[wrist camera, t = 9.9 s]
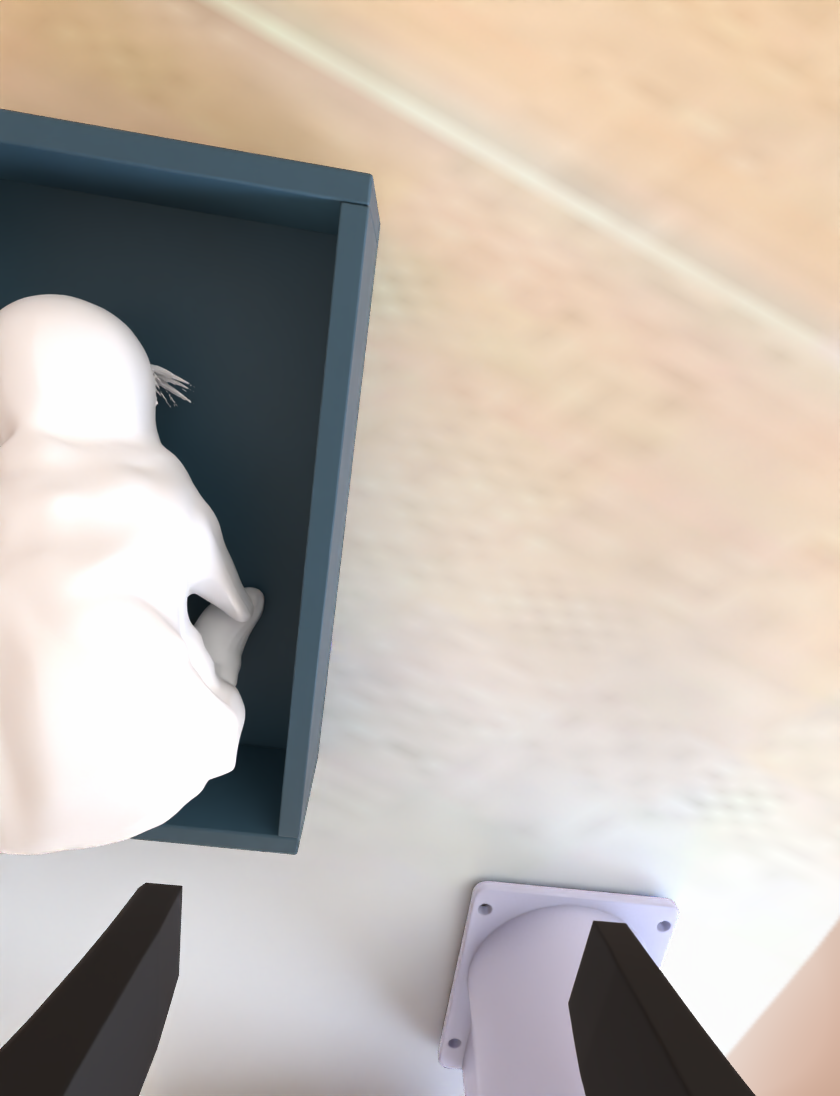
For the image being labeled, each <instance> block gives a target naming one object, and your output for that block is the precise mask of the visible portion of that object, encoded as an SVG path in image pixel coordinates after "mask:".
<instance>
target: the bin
mask: <svg viewBox="0 0 840 1096" xmlns="http://www.w3.org/2000/svg"><path fill="white" fill-rule="evenodd" d="M379 231H380V220H379V213H378V207H377V201H376V194H375V188H374V181H373V176H372V175H371V174H368V173H363V172H357V171H351V170H346V169H340V168H334V167H329V166H323V165H317V164H312V163H306V162H300V161H294V160H289V159H283V158H277V157H272V156H266V155H260V154H255V153H249V152H243V151H238V150H232V149H226V148H221V147H215V146H209V145H204V144H198V143H192V142H187V141H181V140H175V139H170V138H164V137H158V136H153V135H147V134H141V133H136V132H130V131H124V130H119V129H113V128H107V127H102V126H96V125H90V124H85V123H79V122H73V121H67V120H62V119H56V118H50V117H45V116H39V115H33V114H28V113H22V112H16V111H11V110H5V109H0V310H1V309H2V308H4V307H5V306H7V305H9V304H11V303H12V302H15V301H17V300H19V299H22V298H26V297H30V296H35V295H45V294H58V295H67V296H72V297H75V298H79V299H82V300H84V301H87V302H90V303H92V304H94V305H97V306H99V307H101V308H104V309H105V310H107V311H108V312H110V313H112V314H113V315H114V316H116V317H117V318H119V319H120V320H121V321H122V322H123V323H125V324H126V325H127V326H128V327H129V328H130V330H131V331H132V332H133V333H134V335H135V336H136V337H137V339H138V340H139V342H140V343H141V345H142V346H143V348H144V350H145V352H146V354H147V356H148V359H149V362H150V364H153V365H157V366H160V367H162V368H164V369H166V370H168V371H170V372H171V373H173V374H174V375H176V376H178V377H180V378H182V379H183V380H185V381H187V382H188V383H189V384H186V383H183V382H181V381H178V380H176V379H174V380H176V381H178V382H180V383H182V384H183V385H185V386H186V387H188V388H189V389H186V388H184V387H182V386H179V385H176V384H175V385H174V384H172V383H170V382H166V383H168V384H169V385H170V386H172V387H173V388H175V389H176V390H177V391H179V392H180V393H181V394H183V395H184V396H185V397H186V398H187V399H189V400H190V401H191V403H190V402H188V401H187V400H183V399H182V398H181V397H178V396H176V395H175V394H173V393H171V392H170V391H168V390H166V389H165V388H163V387H161V386H159V385H158V386H159V388H158V387H157V386H156V389H157V390H158V391H159V393H160V394H161V393H162V394H163V395H164V397H165V398H166V400H167V401H166V400H165V398H163V395H161V396H160V395H159V394H158V393H157V392H156V397H157V402H158V404H157V405H156V411H155V418H156V427H157V432H158V435H159V438H160V442H161V444H162V445H163V446H164V447H165V448H166V449H167V450H169V451H170V452H171V453H173V454H174V455H175V456H176V457H177V458H178V459H179V460H180V462H181V463H182V464H183V466H184V467H185V469H186V471H187V472H188V474H189V476H190V478H191V480H192V482H193V484H194V485H195V487H196V489H197V490H198V492H199V494H200V495H201V496H202V498H203V499H204V500H205V502H206V503H207V504H208V505H209V506H210V508H211V509H212V511H213V512H214V514H215V516H216V518H217V520H218V522H219V525H220V528H221V532H222V536H223V540H224V543H225V545H226V548H227V550H228V552H229V554H230V556H231V558H232V560H233V563H234V565H235V568H236V570H237V572H238V575H239V578H240V580H241V583H242V585H243V587H244V588H245V587H253V588H256V589H259V590H260V591H261V592H262V593H263V595H264V609H263V612H262V615H261V616H260V618H259V620H258V622H257V623H256V625H255V626H254V628H253V629H252V631H251V633H250V635H249V637H248V639H247V642H246V644H245V647H244V650H243V653H242V656H241V668H240V671H239V673H238V680H237V684H236V686H235V687H236V688H237V690H238V691H239V693H240V695H241V698H242V700H243V703H244V707H245V721H244V725H243V728H242V732H241V735H240V739H239V744H238V749H237V755H236V764H235V767H234V769H233V770H232V771H230V772H229V773H226V774H224V775H221V776H219V777H216V778H212V779H210V780H208V782H207V783H206V785H205V787H204V788H203V790H202V791H201V792H200V793H199V794H198V795H197V796H196V797H194V798H193V799H192V800H190V801H189V802H188V803H187V804H185V805H184V806H183V807H182V808H181V809H180V810H179V811H178V812H177V813H176V814H175V815H174V816H173V817H171V818H170V819H169V820H168V821H166V822H165V823H163V824H161V825H159V826H157V827H154V828H152V829H150V830H147V831H145V832H143V833H141V834H138V835H136V836H134V837H132V838H129V839H139V840H149V841H159V842H169V843H180V844H190V845H200V846H211V847H221V848H231V849H241V850H252V851H262V852H272V853H282V854H293V855H295V854H297V852H298V848H299V843H300V838H301V834H302V829H303V824H304V820H305V815H306V810H307V805H308V801H309V796H310V791H311V787H312V782H313V777H314V773H315V768H316V763H317V759H318V751H319V743H320V734H321V726H322V717H323V709H324V700H325V692H326V683H327V674H328V666H329V657H330V649H331V640H332V632H333V623H334V615H335V606H336V598H337V589H338V581H339V572H340V564H341V555H342V547H343V538H344V530H345V521H346V512H347V504H348V495H349V487H350V478H351V470H352V461H353V453H354V444H355V436H356V427H357V419H358V410H359V402H360V393H361V385H362V376H363V367H364V359H365V350H366V342H367V333H368V325H369V316H370V308H371V299H372V291H373V282H374V274H375V265H376V257H377V248H378V240H379ZM172 379H173V378H172ZM163 381H164V380H163ZM190 385H191V386H190ZM183 389H184V390H185V391H184V390H183ZM166 391H167V392H166ZM193 391H194V392H193ZM169 394H170V396H169ZM171 397H172V399H173V400H172V399H170V398H171ZM173 401H175V403H174V402H173ZM166 402H167V403H166ZM168 404H169V405H168ZM174 405H175V407H174ZM170 406H171V407H170ZM210 604H211V603H210V602H209V601H207V600H205V599H204V598H202V597H201V596H199V595H197V594H191V595H189V596H188V597H187V613H188V617H189V620H190V622H191V623H192V625H193V626H194V624H195V623H196V621H197V620H198V618H199V617H200V615H201V614H202V612H203V611H204V610H205V609H206V608H207V607H208V606H209V605H210Z"/></svg>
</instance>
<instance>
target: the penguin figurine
mask: <svg viewBox="0 0 840 1096" xmlns="http://www.w3.org/2000/svg"><path fill="white" fill-rule="evenodd" d="M172 378H173V379H172ZM174 379H176V380H178V381H181V382H183V383H186V384H189V383H188V382H187V381H185V380H183V379H182V378H180V377H178V376H176V375H174V374H173V373H171V372H170V371H168V370H166V369H164V368H162V367H160V366H157V365H153V364H150V362H149V359H148V356H147V354H146V352H145V350H144V348H143V346H142V345H141V343H140V342H139V340H138V339H137V337H136V336H135V335H134V333H133V332H132V331H131V330H130V328H129V327H128V326H127V325H126V324H125V323H123V322H122V321H121V320H120V319H119V318H117V317H116V316H114V315H113V314H112V313H110V312H108V311H107V310H105V309H104V308H101V307H99V306H97V305H94V304H92V303H90V302H87V301H84V300H82V299H79V298H75V297H72V296H67V295H58V294H45V295H35V296H30V297H26V298H22V299H19V300H17V301H15V302H12V303H11V304H9V305H7V306H5V307H4V308H2V309H1V310H0V853H5V854H14V855H24V854H26V855H37V854H47V853H53V852H58V851H63V850H76V849H83V848H90V847H96V846H102V845H107V844H112V843H116V842H120V841H123V840H126V839H129V838H132V837H134V836H136V835H138V834H141V833H143V832H145V831H147V830H150V829H152V828H154V827H157V826H159V825H161V824H163V823H165V822H166V821H168V820H169V819H170V818H171V817H173V816H174V815H175V814H176V813H177V812H178V811H179V810H180V809H181V808H182V807H183V806H184V805H185V804H187V803H188V802H189V801H190V800H192V799H193V798H194V797H196V796H197V795H198V794H199V793H200V792H201V791H202V790H203V788H204V787H205V785H206V783H207V782H208V780H210V779H212V778H216V777H219V776H221V775H224V774H226V773H229V772H230V771H232V770H233V769H234V767H235V764H236V755H237V749H238V744H239V739H240V735H241V732H242V728H243V725H244V721H245V707H244V703H243V700H242V698H241V695H240V693H239V691H238V690H237V688H236V687H235V686H236V684H237V680H238V673H239V671H240V668H241V656H242V653H243V650H244V647H245V644H246V642H247V639H248V637H249V635H250V633H251V631H252V629H253V628H254V626H255V625H256V623H257V622H258V620H259V618H260V616H261V615H262V612H263V609H264V595H263V593H262V592H261V591H260V590H259V589H256V588H253V587H245V588H244V587H243V585H242V583H241V580H240V578H239V575H238V572H237V570H236V568H235V565H234V563H233V560H232V558H231V556H230V554H229V552H228V550H227V548H226V545H225V543H224V540H223V536H222V532H221V528H220V525H219V522H218V520H217V518H216V516H215V514H214V512H213V511H212V509H211V508H210V506H209V505H208V504H207V503H206V502H205V500H204V499H203V498H202V496H201V495H200V494H199V492H198V490H197V489H196V487H195V485H194V484H193V482H192V480H191V478H190V476H189V474H188V472H187V471H186V469H185V467H184V466H183V464H182V463H181V462H180V460H179V459H178V458H177V457H176V456H175V455H174V454H173V453H171V452H170V451H169V450H167V449H166V448H165V447H164V446H163V445H162V444H161V442H160V438H159V435H158V432H157V427H156V418H155V411H156V405H157V404H158V402H157V397H156V392H157V393H158V394H159V395H160V396H161V395H163V394H162V393H161V394H160V393H159V391H158V390H157V389H156V386H157V387H158V388H159V386H161V387H163V388H165V389H166V390H168V391H170V392H171V393H173V394H175V395H176V396H178V397H181V398H182V399H183V400H187V401H188V402H190V403H191V401H190V400H189V399H187V398H186V397H185V396H184V395H183V394H181V393H180V392H179V391H177V390H176V389H175V388H173V387H172V386H170V385H169V384H168V383H166V382H170V383H172V384H174V385H175V384H176V385H179V386H182V387H184V388H186V389H189V388H188V387H186V386H185V385H183V384H182V383H180V382H178V381H176V380H174ZM163 380H164V381H163ZM158 385H159V386H158ZM190 386H191V385H190ZM183 390H184V389H183ZM184 391H185V390H184ZM166 392H167V391H166ZM193 392H194V391H193ZM169 396H170V394H169ZM163 398H165V397H164V395H163ZM170 399H172V397H171V398H170ZM165 400H166V398H165ZM172 400H173V399H172ZM166 401H167V400H166ZM173 402H174V403H175V401H173ZM166 403H167V402H166ZM168 405H169V404H168ZM170 407H171V406H170ZM174 407H175V405H174ZM191 594H197V595H199V596H201V597H202V598H204V599H205V600H207V601H209V602H210V603H211V604H210V605H209V606H208V607H207V608H206V609H205V610H204V611H203V612H202V614H201V615H200V617H199V618H198V620H197V621H196V623H195V624H194V626H193V625H192V623H191V622H190V620H189V617H188V613H187V597H188V596H189V595H191Z"/></svg>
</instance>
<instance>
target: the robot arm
mask: <svg viewBox="0 0 840 1096" xmlns="http://www.w3.org/2000/svg"><path fill="white" fill-rule="evenodd" d="M482 904H488V905H486V906H481V905H482ZM181 909H182V886H177V885H165V884H154V883H145V884H143V885H142V886H140V887H139V888H138V889H137V891H136V892H135V893H134V895H133V896H132V897H131V899H130V900H129V901H128V903H127V904H126V905H125V906H124V908H123V909H122V910H121V912H120V913H119V914H118V915H117V917H116V918H115V919H114V921H113V922H112V923H111V924H110V926H109V927H108V928H107V929H106V930H105V932H104V933H103V934H102V935H101V937H100V938H99V939H98V940H97V941H96V943H95V944H94V945H93V946H92V947H91V949H90V950H89V951H88V952H87V953H86V955H85V956H84V957H83V958H82V959H81V961H80V962H79V963H78V964H77V965H76V966H75V968H74V969H73V970H72V971H71V972H70V973H69V974H68V976H67V977H66V978H65V979H64V980H63V981H62V982H61V984H60V985H59V986H58V987H57V988H56V989H55V990H54V991H53V993H52V994H51V995H50V996H49V997H48V998H47V999H46V1001H45V1002H44V1003H43V1004H42V1005H41V1006H40V1007H39V1009H38V1010H37V1011H36V1012H35V1013H34V1014H33V1015H32V1016H31V1017H30V1018H29V1019H28V1021H27V1022H26V1023H25V1024H24V1025H23V1026H22V1027H21V1028H20V1029H19V1030H18V1031H17V1032H16V1033H15V1034H14V1035H13V1036H12V1037H11V1039H10V1040H9V1041H8V1042H7V1043H6V1044H5V1045H4V1046H3V1047H2V1048H1V1049H0V1096H139V1094H140V1091H141V1089H142V1086H143V1083H144V1081H145V1078H146V1076H147V1073H148V1071H149V1068H150V1066H151V1063H152V1060H153V1058H154V1055H155V1053H156V1050H157V1047H158V1044H159V1040H160V1037H161V1034H162V1031H163V1027H164V1024H165V1021H166V1017H167V1014H168V1011H169V1007H170V1004H171V1000H172V997H173V993H174V990H175V987H176V983H177V980H178V976H179V958H180V933H181ZM678 918H679V910H678V908H677V906H676V904H675V902H674V901H673V900H671V899H668V898H660V897H649V896H639V895H629V894H618V893H608V892H598V891H587V890H577V889H567V888H556V887H546V886H535V885H525V884H515V883H504V882H494V881H483V882H480V883H478V884H477V885H476V886H475V887H474V889H473V893H472V897H471V902H470V907H469V911H468V916H467V920H466V925H465V930H464V934H463V939H462V943H461V948H460V953H459V957H458V962H457V966H456V971H455V976H454V980H453V985H452V989H451V994H450V999H449V1003H448V1008H447V1012H446V1017H445V1022H444V1026H443V1031H442V1035H441V1040H440V1045H439V1049H438V1057H439V1063H440V1064H441V1065H442V1066H443V1067H445V1068H451V1069H462V1070H463V1082H464V1094H465V1096H755V1094H754V1093H753V1092H752V1091H751V1089H750V1088H749V1087H748V1086H747V1084H746V1083H745V1082H744V1081H743V1079H742V1078H741V1077H740V1076H739V1074H738V1073H737V1072H736V1071H735V1069H734V1068H733V1067H732V1065H731V1064H730V1063H729V1061H728V1060H727V1059H726V1058H725V1056H724V1055H723V1054H722V1052H721V1051H720V1050H719V1048H718V1047H717V1046H716V1045H715V1043H714V1042H713V1041H712V1039H711V1038H710V1037H709V1035H708V1034H707V1033H706V1031H705V1030H704V1029H703V1028H702V1026H701V1025H700V1024H699V1022H698V1021H697V1020H696V1018H695V1017H694V1016H693V1014H692V1013H691V1012H690V1010H689V1009H688V1007H687V1006H686V1005H685V1003H684V1002H683V1001H682V999H681V998H680V997H679V995H678V994H677V992H676V991H675V990H674V988H673V987H672V986H671V984H670V983H669V982H668V980H667V979H666V977H665V976H664V975H663V973H662V972H661V967H662V964H663V962H664V959H665V956H666V953H667V950H668V947H669V944H670V941H671V938H672V935H673V932H674V930H675V927H676V924H677V921H678ZM661 921H662V922H661Z"/></svg>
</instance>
